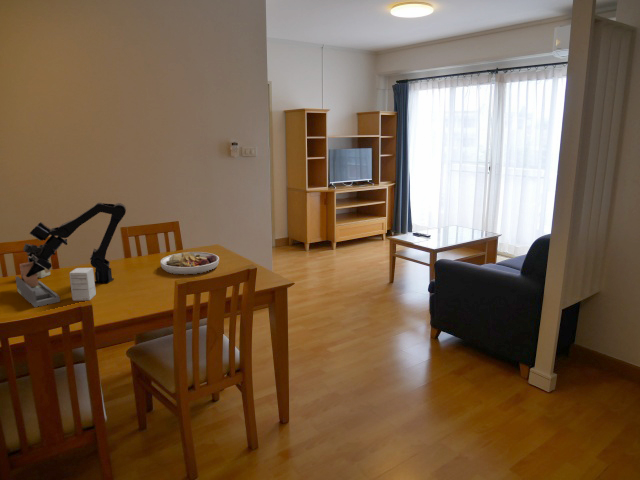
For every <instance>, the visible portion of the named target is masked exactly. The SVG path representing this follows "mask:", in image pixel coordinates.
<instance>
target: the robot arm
mask: <svg viewBox="0 0 640 480" xmlns="http://www.w3.org/2000/svg"><path fill="white" fill-rule="evenodd" d="M126 212H127V208H126V206H125V204H123V203H121V202H120V203H119V202H117V203H115V204H114V203H106V202H97V203H96V204H95V205H93V206H91V207H90V208H89V209H88V210H87V209H86V211H84V212H83V213H82V214H80V215H78V216H77V217H75V218H74V219H72V220H68V221H66V222H64V223H62V224H60V225H59V226H56V227H52V228H50V227H48V226H47V225H45V224H44V223H43V222H42V221H40V222H38V224H37V225H35V227H33V229H31V231H30V232H29V235H31V236H32V237H33V238H36V239H37V240H39V241H40V242H41V241H43V242H44V243H43V244H40V245H38V246H37V245H36V244H30V243H25V244H24V246H23V249H22V251H23V252H25V253H26V255H27V260H28V261H27V263H28V262H32V263H33V266H32V267H31V269H30V270H29V272H28V273H27V275H26V276H27V277H30V276H32V275H34V274H36V273H38V272H40V271H42V270H45V268H46V269H48V270H49V269H50V270H51V268H52V263H51V262H50V259H51V257H52V256H55V255H56V251H57V250H59V248H60V247H61V245H63V244H64V245H66V246H67V245H68V239H67V238H69V237H70V236H71V235H72V234H73V233H74V232H75V231H77V229H78V228H79V227H80V226H82V225H83V224H85V223H87V221H90V220H92V218H94V217H95V216H97V215H98V214H101V213H104V214H109V215H111V216H110V221H109V223H108V225H107V228H106V230H105V232H104V235H103V237H102V239H101V240H100V241H101V242H100V244H99V246H98V247H97V249H96V248H93V251H92V254H91V255H90V257H89V260H90V265H91V266H92V268H93V269H95V272H94V281H95V284H109V283H110V282H113V280H114V279H115V278H114V277H113V274H112V268H111V267H110V265H111V264H110V263H111V262H110V261H109V260H108V259H106V256H107V251H108V248H109V246H110V244H111V241H112V239H113V236H114V234H115V232H116V229H117V228H118V225H119V223H120V222H121V221H122V220H123V218H124V217H125V215H126ZM49 236H50V237H49ZM48 259H49V260H48Z"/></svg>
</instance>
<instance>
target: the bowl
mask: <svg viewBox="0 0 640 480" xmlns="http://www.w3.org/2000/svg"><path fill="white" fill-rule="evenodd" d="M219 262H220V257H219V256H218V255H216V254H214V253H211V252H206V251H204V252H203V251H188V252H187V251H186V252H180V253H174V254H169V255H167V256H164V257H163V258H161V259H160V266H161V268H162V270H164V271H165V272H167V273H169V274H172V273H173V274H172V275H178V274H184V275H183V276H186V275H185V274H193V275H198V274H197V273H200V274H204V273H203V272H205V273H207V272H206V271H208V272H210V271H209V270H211V271H213V270H214V269H216V267H218V265H219ZM212 269H213V270H212Z"/></svg>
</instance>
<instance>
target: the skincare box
mask: <svg viewBox="0 0 640 480" xmlns="http://www.w3.org/2000/svg"><path fill="white" fill-rule="evenodd" d="M48 260H49V261H50V258H49V259H48ZM50 275H51V268H50V269H49V270H48V269H46V268H45V270H42V271H40V272H38V273H37V277H38V278H40V279H43V278H45V277H48V276H50Z"/></svg>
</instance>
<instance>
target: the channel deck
mask: <svg viewBox="0 0 640 480" xmlns="http://www.w3.org/2000/svg"><path fill="white" fill-rule="evenodd" d="M15 283H16V289H17V291H16V292H18V294H19V295H21V296H22V297H23V298H24V300H26V301H27V302H28V303H29V304H30V303H31V304H32V305H31V304H30V305H31V306H32V307H33V308H38V306H39V307H42V306H43V307H44V306H47V304H48V305H51V304H56V303H59V302H61V297H60V296H59V294H58V293H56V292H55V291H53V290H52V289H51V288H50V287H49V286H48V285H46V284H45V283H43V282H42V281H41V280H38V286H33V287H30V286H29V285H28V284H27V283H25V282H24V281H23V280H22V277H20V276H15Z"/></svg>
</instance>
